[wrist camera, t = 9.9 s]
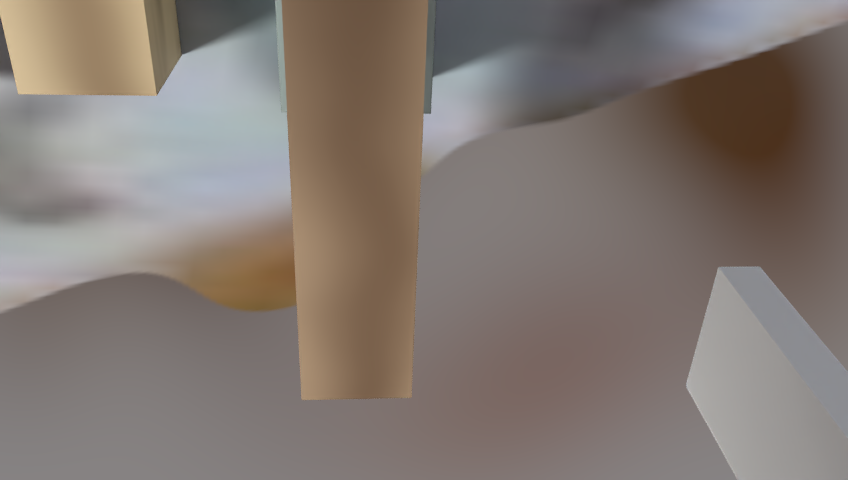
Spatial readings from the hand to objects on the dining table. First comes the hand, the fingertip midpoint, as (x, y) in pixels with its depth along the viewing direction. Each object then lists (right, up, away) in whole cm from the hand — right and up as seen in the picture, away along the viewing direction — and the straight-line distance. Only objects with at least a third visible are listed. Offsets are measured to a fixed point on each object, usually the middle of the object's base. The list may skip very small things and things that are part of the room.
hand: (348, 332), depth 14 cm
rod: (-1, +7, +13) cm, 15 cm away
